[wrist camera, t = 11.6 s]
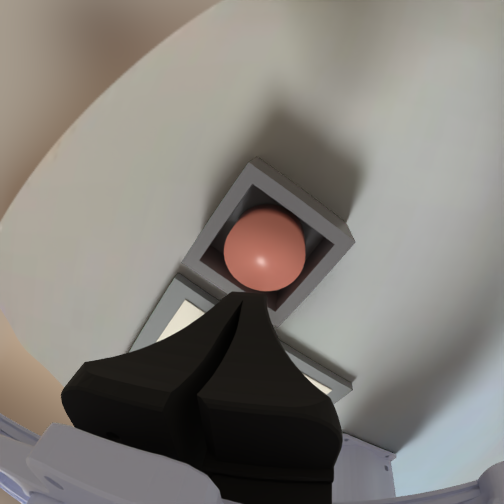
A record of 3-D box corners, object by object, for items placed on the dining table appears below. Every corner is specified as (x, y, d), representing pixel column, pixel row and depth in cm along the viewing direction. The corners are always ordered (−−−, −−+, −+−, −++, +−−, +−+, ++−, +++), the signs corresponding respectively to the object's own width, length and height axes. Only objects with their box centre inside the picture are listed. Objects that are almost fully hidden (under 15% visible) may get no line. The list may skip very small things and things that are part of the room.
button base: (346, 223, 20) (355, 242, 16) (281, 299, 22) (277, 327, 19) (257, 156, 19) (248, 162, 16) (198, 241, 22) (181, 262, 18)
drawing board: (351, 383, 25) (352, 391, 24) (262, 445, 30) (261, 452, 29) (178, 272, 23) (173, 278, 22) (121, 365, 28) (117, 371, 27)
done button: (319, 233, 19) (322, 248, 17) (276, 284, 20) (272, 304, 18) (259, 189, 18) (254, 198, 16) (219, 245, 20) (209, 261, 18)
